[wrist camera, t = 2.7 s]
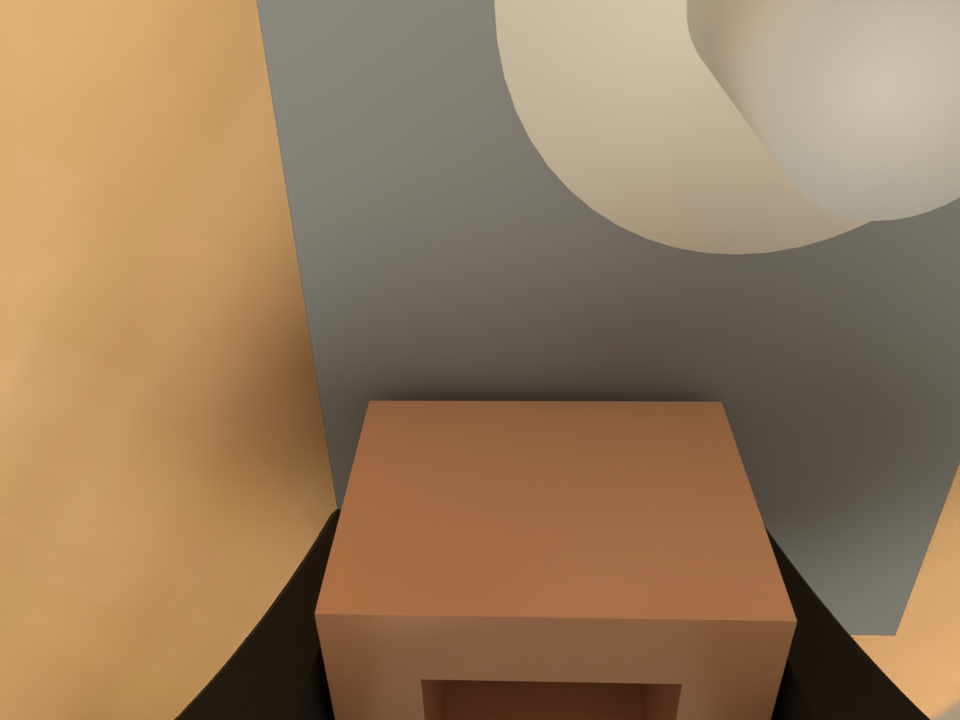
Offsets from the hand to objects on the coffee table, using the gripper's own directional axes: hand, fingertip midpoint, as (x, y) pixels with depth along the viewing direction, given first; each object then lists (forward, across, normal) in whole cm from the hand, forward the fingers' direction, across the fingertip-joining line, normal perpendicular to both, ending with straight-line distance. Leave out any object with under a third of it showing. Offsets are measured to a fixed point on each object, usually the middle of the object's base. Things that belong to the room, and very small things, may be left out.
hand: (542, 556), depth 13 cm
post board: (+2, -2, -4) cm, 5 cm away
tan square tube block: (+1, 0, 0) cm, 1 cm away
